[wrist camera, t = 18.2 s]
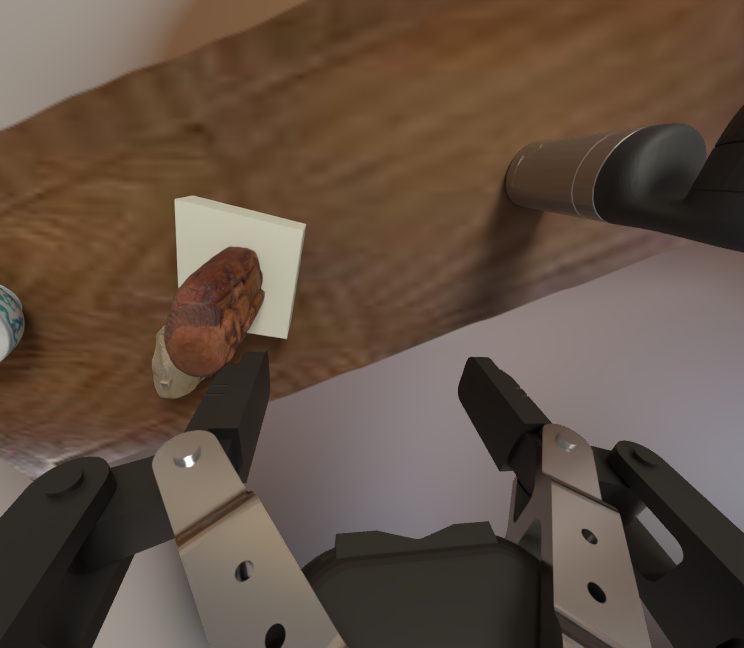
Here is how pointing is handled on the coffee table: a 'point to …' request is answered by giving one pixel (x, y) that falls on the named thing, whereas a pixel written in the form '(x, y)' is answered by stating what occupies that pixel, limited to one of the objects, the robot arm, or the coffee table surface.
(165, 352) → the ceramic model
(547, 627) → the robot arm
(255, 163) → the coffee table surface
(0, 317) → the chinaware
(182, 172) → the coffee table surface
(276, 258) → the cream white square block
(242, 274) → the wooden figurine
